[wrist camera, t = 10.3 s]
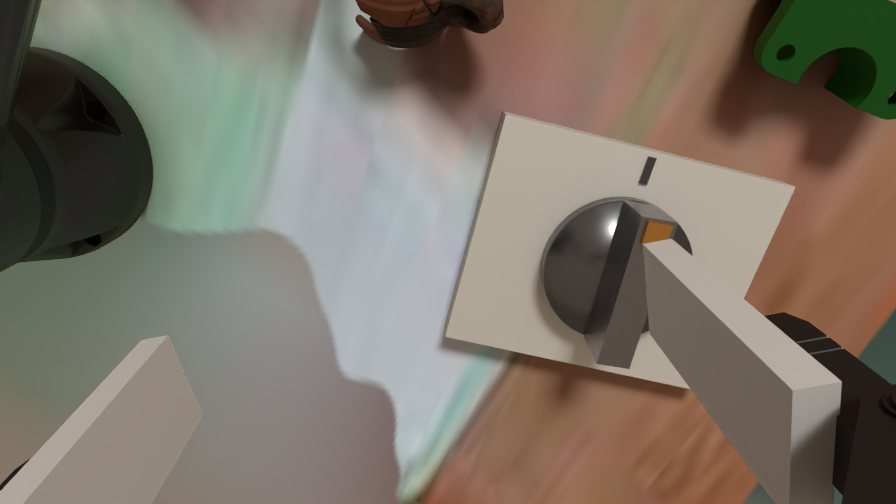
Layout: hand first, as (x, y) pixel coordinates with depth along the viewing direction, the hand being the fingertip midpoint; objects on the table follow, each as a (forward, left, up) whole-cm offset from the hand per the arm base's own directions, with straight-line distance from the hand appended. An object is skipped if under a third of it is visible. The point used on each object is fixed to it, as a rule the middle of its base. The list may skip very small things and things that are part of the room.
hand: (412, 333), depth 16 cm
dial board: (+15, -5, -29) cm, 33 cm away
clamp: (+25, +14, -29) cm, 40 cm away
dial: (+15, -5, -26) cm, 31 cm away
